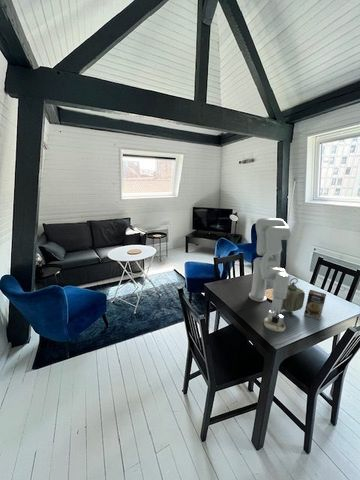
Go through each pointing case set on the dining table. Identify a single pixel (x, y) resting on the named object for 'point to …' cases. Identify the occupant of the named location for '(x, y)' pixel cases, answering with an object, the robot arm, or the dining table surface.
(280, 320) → the dial knob
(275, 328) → the dial base
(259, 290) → the robot arm
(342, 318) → the dining table surface
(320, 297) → the coffee box
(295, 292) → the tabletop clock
